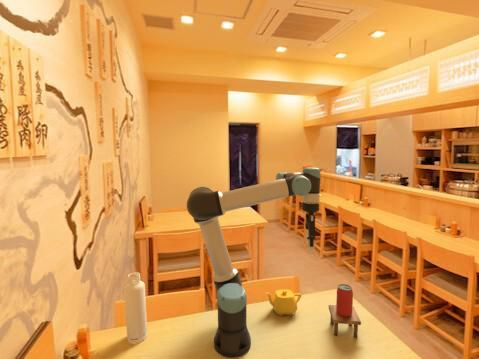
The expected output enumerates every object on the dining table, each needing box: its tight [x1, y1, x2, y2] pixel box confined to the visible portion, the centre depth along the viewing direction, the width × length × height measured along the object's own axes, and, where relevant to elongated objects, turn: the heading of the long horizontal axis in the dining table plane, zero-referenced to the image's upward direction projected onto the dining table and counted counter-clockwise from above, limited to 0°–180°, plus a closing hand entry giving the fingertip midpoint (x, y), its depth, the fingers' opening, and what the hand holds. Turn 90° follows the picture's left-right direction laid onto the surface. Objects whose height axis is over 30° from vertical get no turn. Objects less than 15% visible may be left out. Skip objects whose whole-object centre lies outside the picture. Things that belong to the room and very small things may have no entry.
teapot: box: [265, 289, 302, 317], centre depth 135 cm, size 18×11×11 cm, turn 95°
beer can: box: [335, 283, 354, 317], centre depth 120 cm, size 7×7×12 cm
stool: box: [328, 304, 362, 339], centre depth 121 cm, size 11×11×8 cm
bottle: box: [123, 271, 148, 345], centre depth 116 cm, size 8×8×28 cm
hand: (309, 247), depth 126 cm, fingers open, 13 cm apart
